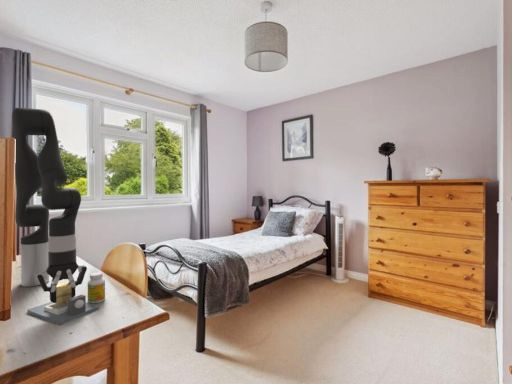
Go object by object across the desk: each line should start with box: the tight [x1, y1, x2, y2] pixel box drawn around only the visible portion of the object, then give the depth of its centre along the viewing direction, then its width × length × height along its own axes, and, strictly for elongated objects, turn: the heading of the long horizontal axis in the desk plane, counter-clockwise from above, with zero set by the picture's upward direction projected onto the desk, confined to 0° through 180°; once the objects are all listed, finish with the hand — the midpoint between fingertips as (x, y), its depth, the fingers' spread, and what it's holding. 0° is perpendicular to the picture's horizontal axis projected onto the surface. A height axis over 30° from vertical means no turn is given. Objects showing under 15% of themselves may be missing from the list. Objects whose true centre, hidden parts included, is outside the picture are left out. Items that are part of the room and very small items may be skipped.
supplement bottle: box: [87, 271, 106, 304], centre depth 99 cm, size 5×5×10 cm
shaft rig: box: [26, 294, 99, 326], centre depth 90 cm, size 18×12×6 cm, turn 64°
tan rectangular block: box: [55, 281, 72, 306], centre depth 90 cm, size 4×4×6 cm
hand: (63, 300), depth 90 cm, fingers closed on tan rectangular block, 4 cm apart
